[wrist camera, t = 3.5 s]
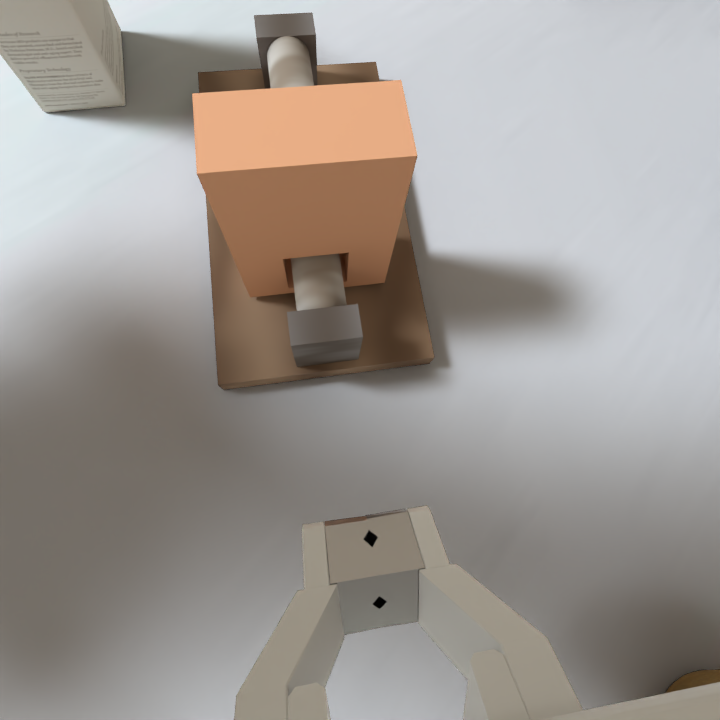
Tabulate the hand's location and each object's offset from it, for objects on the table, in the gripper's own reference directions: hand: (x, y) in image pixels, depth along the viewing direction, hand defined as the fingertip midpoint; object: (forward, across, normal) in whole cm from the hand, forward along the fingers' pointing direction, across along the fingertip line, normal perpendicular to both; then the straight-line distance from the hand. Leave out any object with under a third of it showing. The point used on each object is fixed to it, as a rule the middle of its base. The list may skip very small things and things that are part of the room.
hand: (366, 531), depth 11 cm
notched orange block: (+23, 0, 0) cm, 23 cm away
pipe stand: (+28, 0, -2) cm, 28 cm away
